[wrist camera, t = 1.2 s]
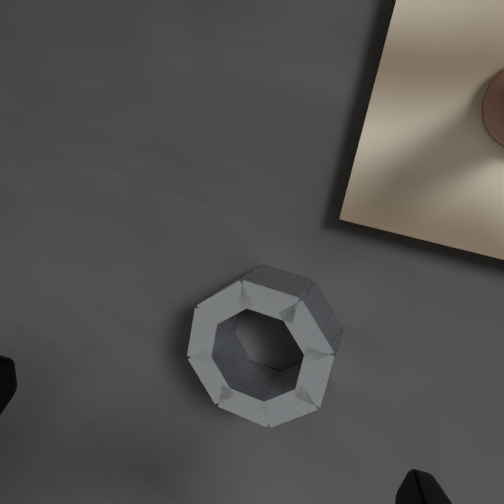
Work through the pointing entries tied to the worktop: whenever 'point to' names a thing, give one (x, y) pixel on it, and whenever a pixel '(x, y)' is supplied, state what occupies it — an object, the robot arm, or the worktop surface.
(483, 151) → the post stand
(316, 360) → the ring
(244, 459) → the worktop surface
